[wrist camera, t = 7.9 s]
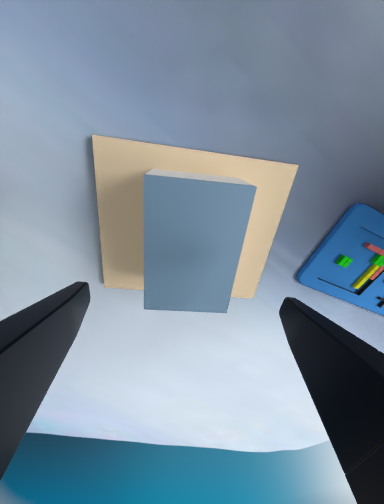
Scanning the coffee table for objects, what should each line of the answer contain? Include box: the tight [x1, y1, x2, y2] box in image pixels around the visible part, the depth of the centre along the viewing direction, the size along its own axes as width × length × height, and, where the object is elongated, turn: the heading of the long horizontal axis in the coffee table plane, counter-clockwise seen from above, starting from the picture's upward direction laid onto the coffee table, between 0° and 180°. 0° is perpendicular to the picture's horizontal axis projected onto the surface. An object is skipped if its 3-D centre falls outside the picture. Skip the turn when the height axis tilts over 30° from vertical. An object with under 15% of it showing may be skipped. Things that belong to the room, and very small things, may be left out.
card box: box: [143, 169, 257, 313], centre depth 14 cm, size 9×6×4 cm, turn 174°
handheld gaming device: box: [297, 203, 384, 316], centre depth 19 cm, size 8×1×15 cm
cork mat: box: [92, 135, 299, 298], centre depth 16 cm, size 14×12×1 cm
